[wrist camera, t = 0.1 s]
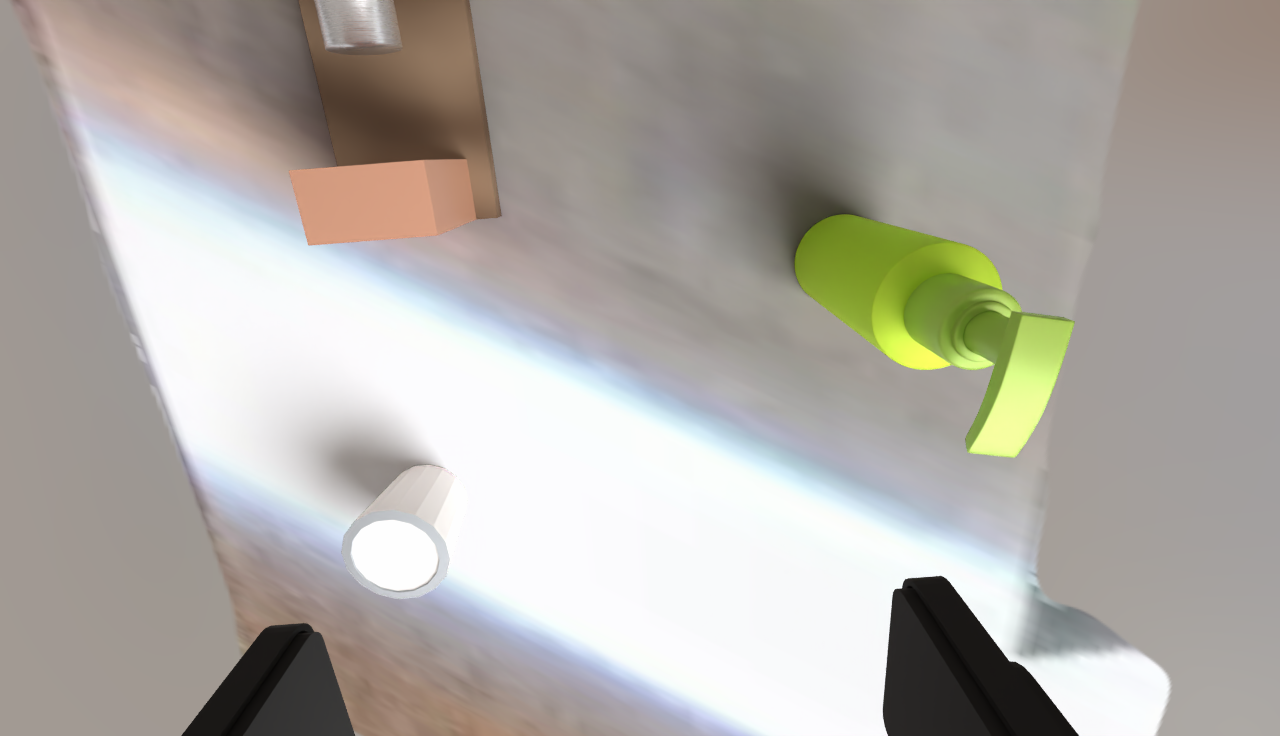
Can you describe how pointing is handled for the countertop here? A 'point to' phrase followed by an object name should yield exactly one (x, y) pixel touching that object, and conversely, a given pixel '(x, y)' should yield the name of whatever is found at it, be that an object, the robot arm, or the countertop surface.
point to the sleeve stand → (410, 96)
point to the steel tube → (359, 26)
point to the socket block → (383, 200)
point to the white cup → (407, 534)
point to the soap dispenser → (938, 317)
